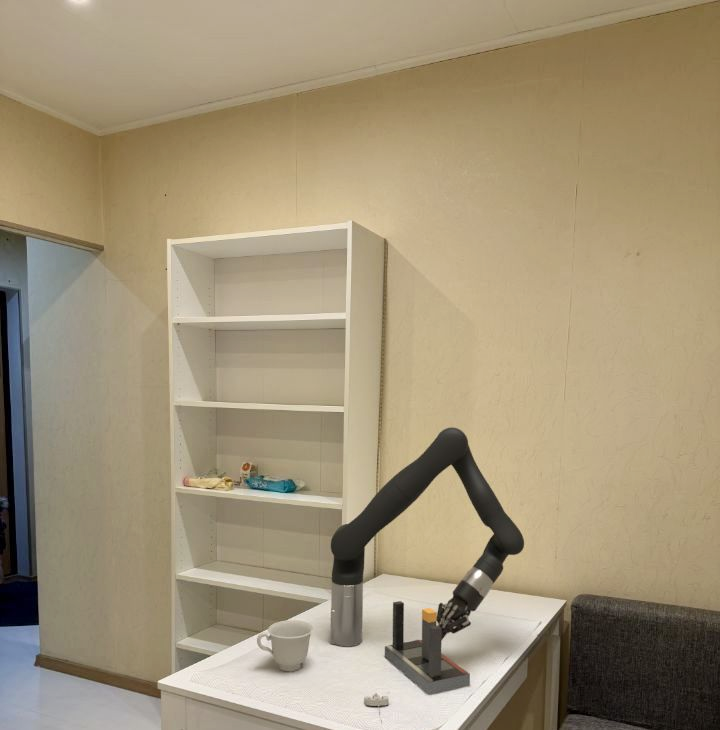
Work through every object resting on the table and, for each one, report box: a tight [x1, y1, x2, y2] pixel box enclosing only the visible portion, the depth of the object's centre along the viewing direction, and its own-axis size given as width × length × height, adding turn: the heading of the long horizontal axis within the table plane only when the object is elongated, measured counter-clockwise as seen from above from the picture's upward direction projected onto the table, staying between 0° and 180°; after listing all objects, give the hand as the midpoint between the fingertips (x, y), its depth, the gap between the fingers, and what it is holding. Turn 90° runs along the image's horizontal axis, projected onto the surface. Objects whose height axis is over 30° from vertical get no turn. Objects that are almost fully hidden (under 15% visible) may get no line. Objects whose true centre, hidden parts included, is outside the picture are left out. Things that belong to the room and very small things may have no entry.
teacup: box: [256, 619, 314, 672], centre depth 166 cm, size 12×15×10 cm
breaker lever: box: [421, 607, 438, 660], centre depth 166 cm, size 2×3×12 cm
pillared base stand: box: [384, 600, 471, 696], centre depth 165 cm, size 12×23×15 cm, turn 25°
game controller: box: [363, 692, 389, 724], centre depth 145 cm, size 6×12×3 cm, turn 22°
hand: (434, 640), depth 166 cm, fingers closed
